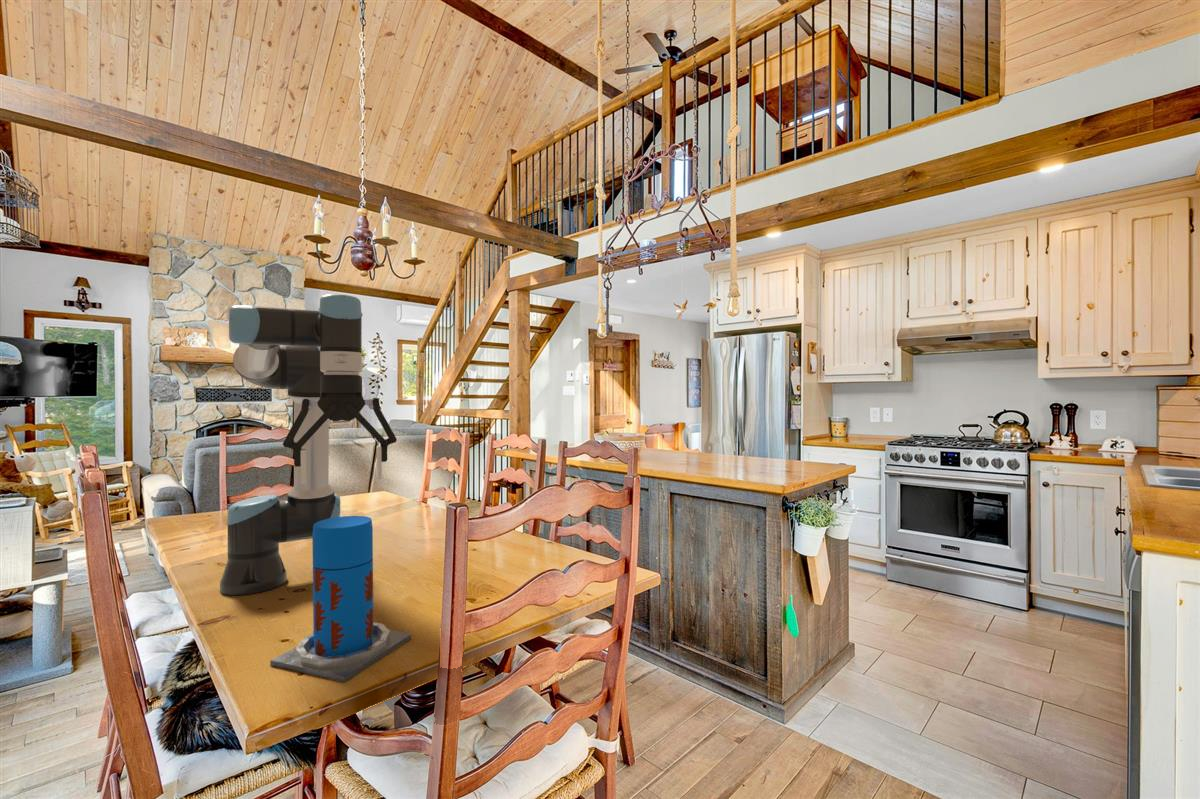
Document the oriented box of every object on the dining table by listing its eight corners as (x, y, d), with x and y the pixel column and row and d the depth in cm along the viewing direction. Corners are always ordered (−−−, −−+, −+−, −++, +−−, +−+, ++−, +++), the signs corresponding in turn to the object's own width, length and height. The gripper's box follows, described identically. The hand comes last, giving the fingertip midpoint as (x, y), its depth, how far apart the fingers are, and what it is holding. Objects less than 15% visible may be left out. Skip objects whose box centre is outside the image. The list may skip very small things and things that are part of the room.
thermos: (357, 629, 116) (356, 513, 115) (383, 644, 109) (382, 520, 108) (304, 648, 107) (302, 522, 107) (328, 665, 100) (327, 531, 100)
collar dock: (270, 665, 103) (270, 652, 102) (344, 626, 119) (344, 615, 119) (344, 682, 96) (344, 668, 96) (411, 638, 113) (411, 626, 113)
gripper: (265, 372, 98) (267, 488, 99) (409, 374, 109) (410, 478, 110) (270, 373, 105) (271, 482, 106) (405, 375, 116) (406, 473, 116)
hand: (342, 480), depth 108 cm, fingers open, 13 cm apart
